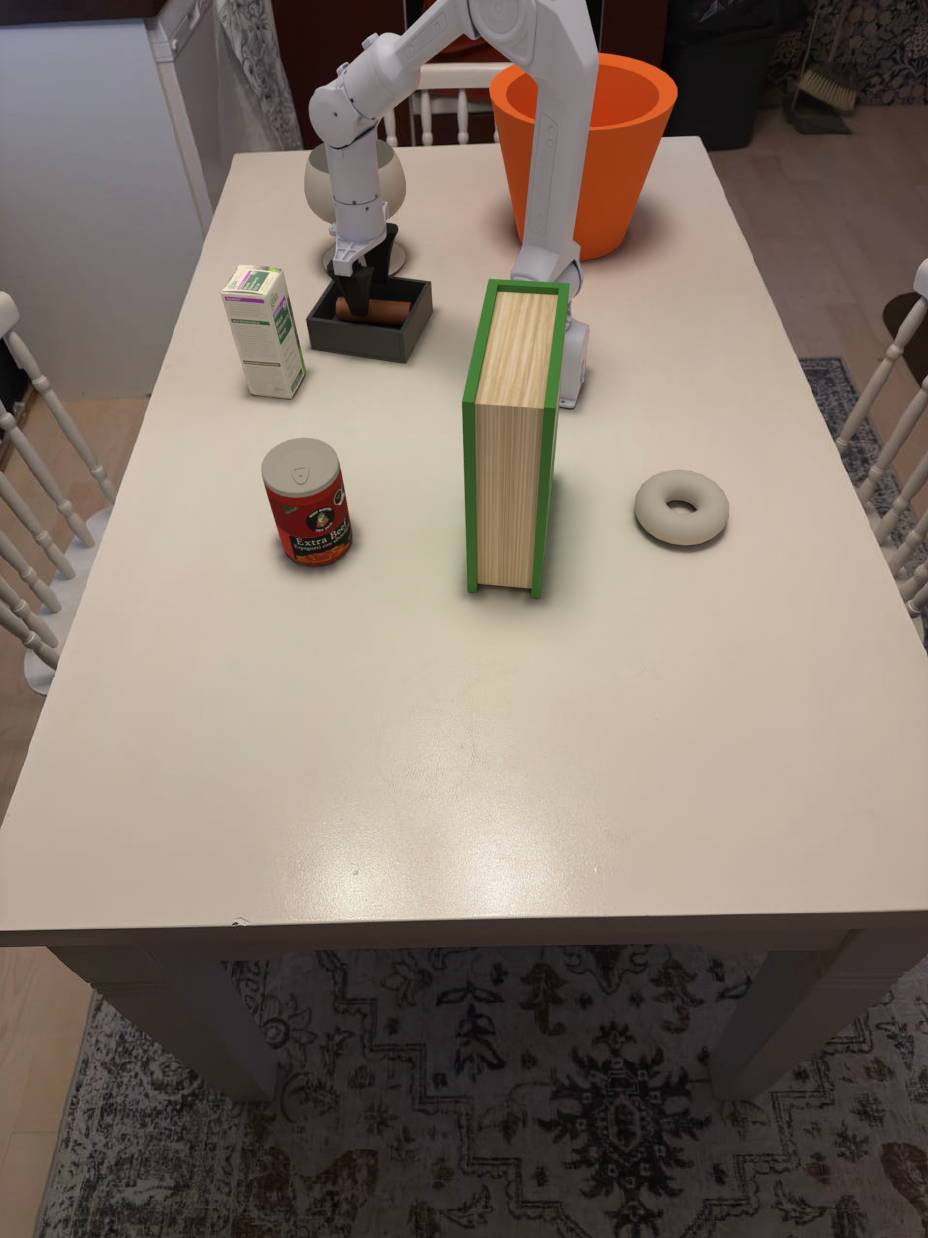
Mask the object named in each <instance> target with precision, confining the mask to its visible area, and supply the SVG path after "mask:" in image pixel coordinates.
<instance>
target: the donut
mask: <svg viewBox="0 0 928 1238" xmlns="http://www.w3.org/2000/svg"><path fill="white" fill-rule="evenodd" d="M673 501H681V502H682V501H683V502H686V503H688V504H690V505H692V506H693V507H694V508H695V509H696V510H695V511H693V512H689V513H683V512H678V511H676V510H673V509H672V508H670V507H669V506H668V505H667V503H670V502H673ZM634 512H635V515H636V518H637V521H638V523H639V524H640V525H641V526H642V528H644V530H645V531H646V532H647V533H648V534H650V536H653V537H654V538H655V539H657V540H660V541H662V542H664V543H668V544H671V545H677V546H692V545H700V544H702V543H705V542H707V541H710V540H712V539H714V538H715V537H716V536H717V535H718V534H719V533H720V532H722V531H723V530H724V528H725V527H726V524H727V521H728V520H729V518H730V502H729V500H728V498H727V495H726V493H725V491H724V489H722V487H721V486H720V485H719V484H718V483H717V482H716V481H715V480H713V479H711V478H709V477H708V476H707V475H704V474H703V473H700V472H696V471H692V470H688V469H686V470H685V469H671V470H664V471H661V472H659V473H656V474H653V475H652V476H651V477H649V478H647V480H645V481H644V482H643V483H641V485H640V487H639V489H638V490H637V492H636V494H635V497H634Z"/></svg>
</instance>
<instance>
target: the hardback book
mask: <svg viewBox="0 0 928 1238" xmlns="http://www.w3.org/2000/svg"><path fill="white" fill-rule="evenodd" d="M569 287H570V283H555V282H537V281H520V280H510V279H500V278H488V280H487V285H486V289H485V293H484V299H483V304H482V308H481V312H480V317H479V322H478V325H477V331H476V335H475V340H474V344H473V348H472V354H471V358H470V363H469V367H468V370H467V371H468V372H467V377H466V381H465V385H464V390H463V394H462V399H461V421H462V422H461V423H462V450H463V453H462V455H463V481H464V482H463V483H464V518H465V520H464V521H465V554H466V584H467V585H466V587H467V588H466V591H467V593H474V594H476V593H477V592H478V587H479V585H489V586H490V585H491V586H501V587H509V588H522V589H531V590H530V591H531V592H530V599H538V600H540V599H541V593H542V585H543V574H544V565H545V558H546V557H545V556H546V547H547V537H548V530H549V528H548V527H549V520H550V519H549V518H550V510H551V501H552V491H553V484H554V483H553V482H554V471H555V462H556V461H555V460H556V449H557V438H558V426H559V425H558V424H559V415H560V406H559V403H560V392H561V380H562V368H563V357H564V345H565V333H566V322H567V310H568V299H569Z"/></svg>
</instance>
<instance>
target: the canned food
mask: <svg viewBox="0 0 928 1238" xmlns="http://www.w3.org/2000/svg"><path fill="white" fill-rule="evenodd" d="M260 469H261V470H260V471H261V477H262V482H263V485H264V489H265V492H266V495H267V499H268V502H269V507H270V510H271V513H272V516H273V519H274V522H275V526H276V529H277V533H278V536H279V540H280V544H281V546H282V548H283V550H284V551H285V553H286V554H287V555H288V556H289V558H290V559H292V561H295V563H297V564H301V565H303V566H308V567H318V566H319V567H321V566H325V565H329V564H331V563H333V562H335V561H337V560H338V559H340V558H342V556H343V555H345V553H346V552H347V551H348V549H349V547H350V545H351V541H352V537H353V528H352V522H351V516H350V511H349V505H348V501H347V500H348V499H347V495H346V489H345V483H344V478H343V477H344V476H343V474H342V473H343V472H342V468H341V462H340V459H339V457H338V454H337V452H336V450H335V449H334V448H333V447H332V446H331V445H330V444H329V443H327V442H326V441H324V440H320V439H317V438H312V437H296V438H291V439H288V440H285V441H283V442H281V443H279V444H277V445H275V446H273V448H271V449H270V450H269V451H268V452H267V453H266V454H265V456H264V457H263V460H262V462H261V465H260Z"/></svg>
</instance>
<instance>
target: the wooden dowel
mask: <svg viewBox="0 0 928 1238" xmlns="http://www.w3.org/2000/svg"><path fill="white" fill-rule="evenodd" d="M412 308H413V304H412V302H401V301H387V300H374V299H369V312H368V315H367V317H362V316H355V315H352V314H351V312H350V310H349V307H348V305H347V303H346V300H345V298H344V297H338V299H337V302H336V317H337V319H338V320H339V321H352V322H364V323H377V324H390V325H403V324H404V322H405V320H406V319H407V317H408V315H409V313H410V311H411V309H412Z"/></svg>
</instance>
